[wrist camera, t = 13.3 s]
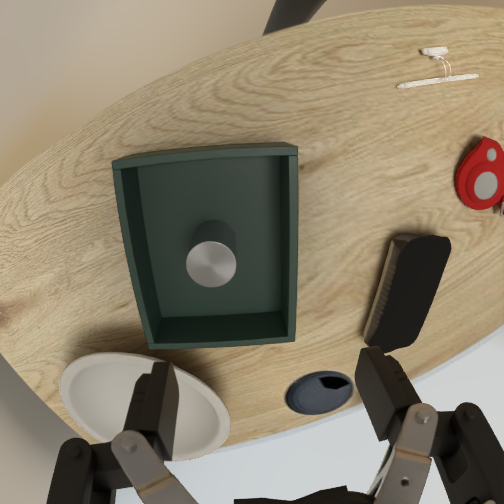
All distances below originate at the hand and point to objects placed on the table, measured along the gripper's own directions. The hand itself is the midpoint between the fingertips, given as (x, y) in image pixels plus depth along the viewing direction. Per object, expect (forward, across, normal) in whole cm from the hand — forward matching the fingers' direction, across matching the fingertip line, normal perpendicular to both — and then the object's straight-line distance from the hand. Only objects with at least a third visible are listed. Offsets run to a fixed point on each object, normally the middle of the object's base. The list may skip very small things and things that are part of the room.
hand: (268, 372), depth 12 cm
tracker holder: (+22, -32, -4) cm, 39 cm away
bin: (+22, +3, +2) cm, 22 cm away
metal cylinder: (+21, +3, +2) cm, 21 cm away
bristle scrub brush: (+22, -20, +10) cm, 31 cm away
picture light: (+23, -23, -18) cm, 37 cm away
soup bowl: (+22, +15, +25) cm, 36 cm away
